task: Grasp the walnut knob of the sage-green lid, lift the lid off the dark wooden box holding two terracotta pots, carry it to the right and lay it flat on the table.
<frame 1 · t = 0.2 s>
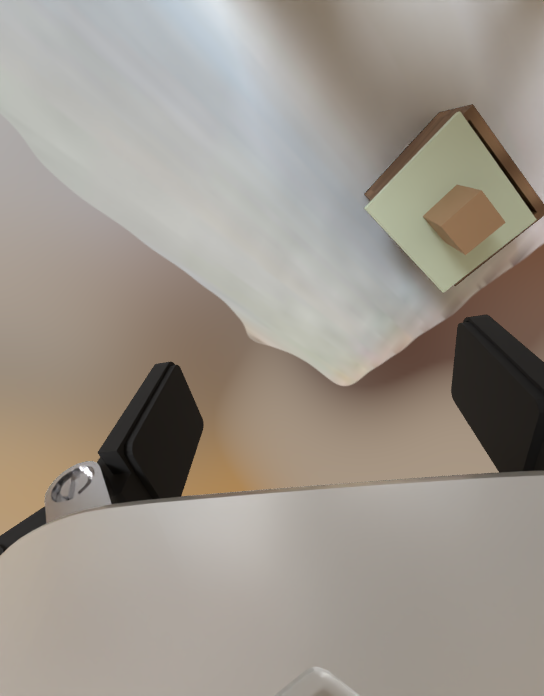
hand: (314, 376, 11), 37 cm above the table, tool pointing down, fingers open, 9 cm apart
box: (434, 197, 41), on the table
lid: (447, 213, 34), point 8 cm above the table, touching box
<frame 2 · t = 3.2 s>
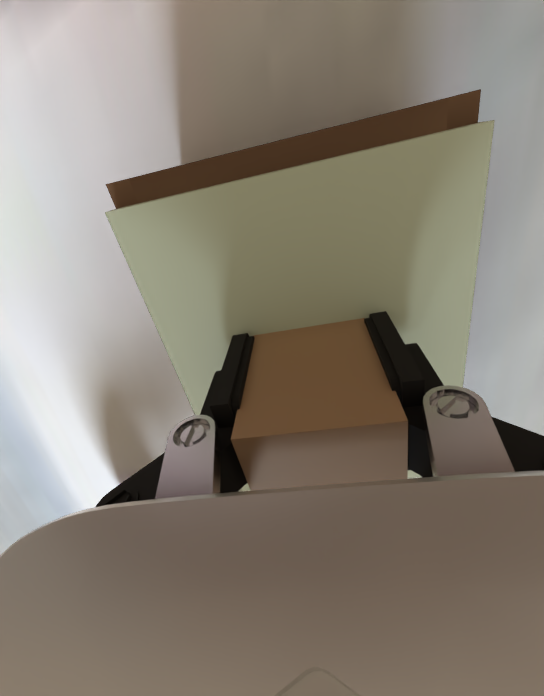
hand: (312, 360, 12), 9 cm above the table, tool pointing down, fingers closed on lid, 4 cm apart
box: (305, 277, 20), on the table
lid: (314, 360, 13), point 8 cm above the table, touching box, gripper
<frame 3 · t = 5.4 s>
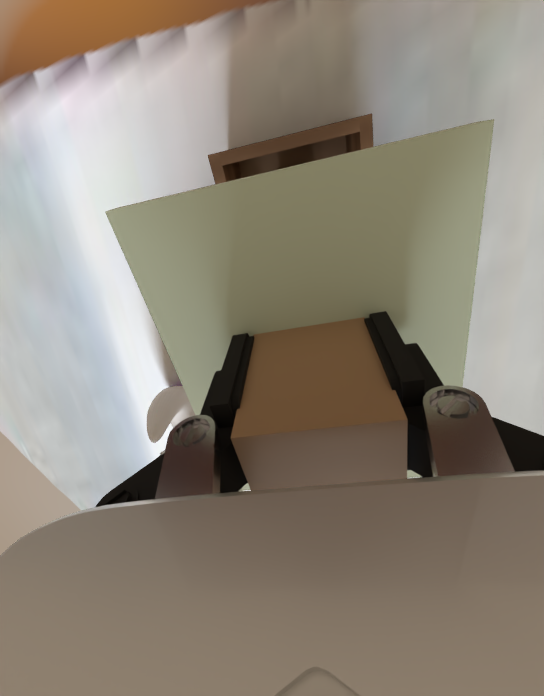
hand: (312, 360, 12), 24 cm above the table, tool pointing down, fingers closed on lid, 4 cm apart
box: (301, 220, 31), on the table
toy: (196, 394, 45), on the table
lid: (314, 359, 13), point 22 cm above the table, touching gripper
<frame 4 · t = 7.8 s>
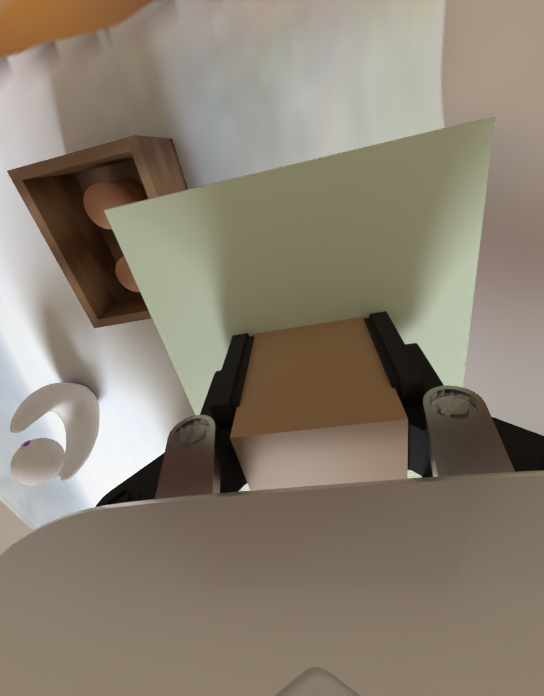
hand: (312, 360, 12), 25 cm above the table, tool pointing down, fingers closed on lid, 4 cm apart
box: (148, 228, 34), on the table
toy: (91, 391, 47), on the table
lid: (314, 359, 13), point 24 cm above the table, touching gripper
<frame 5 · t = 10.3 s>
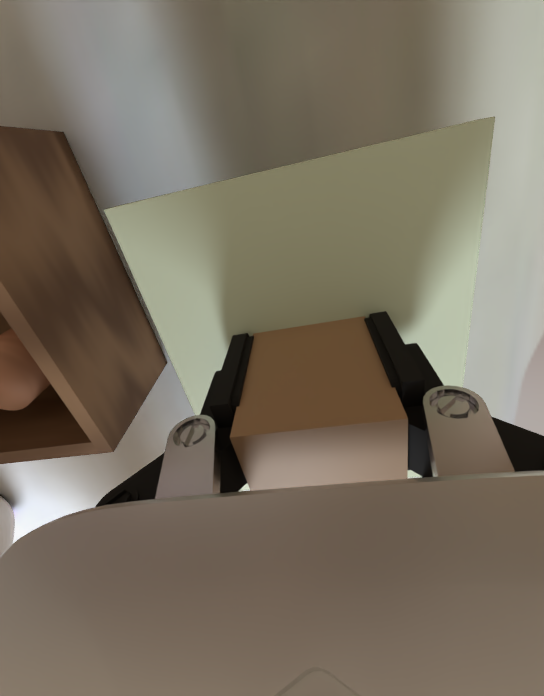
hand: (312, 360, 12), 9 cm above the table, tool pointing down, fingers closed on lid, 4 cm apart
box: (45, 284, 20), on the table
toy: (3, 496, 33), on the table
lid: (314, 358, 13), point 8 cm above the table, touching gripper
when the fingers open (3 cm above the table, at t = 12.4 s): lid drops 2 cm, on the table.
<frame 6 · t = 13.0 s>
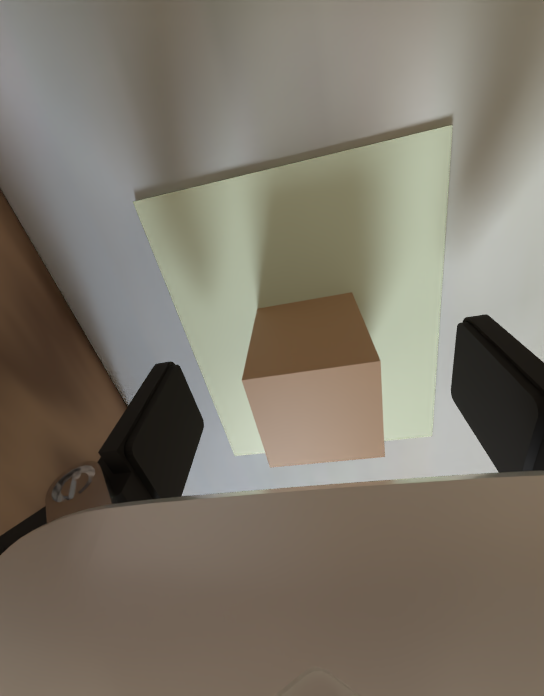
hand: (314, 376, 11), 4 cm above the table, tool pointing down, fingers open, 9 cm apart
lid: (309, 332, 15), on the table
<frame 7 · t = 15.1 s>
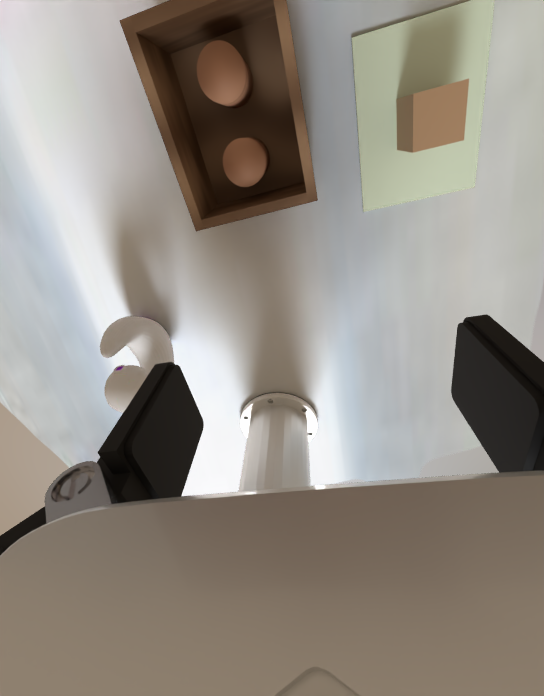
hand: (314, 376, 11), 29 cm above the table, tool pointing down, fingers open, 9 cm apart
box: (243, 123, 31), on the table
toy: (162, 330, 45), on the table
lid: (416, 119, 30), on the table
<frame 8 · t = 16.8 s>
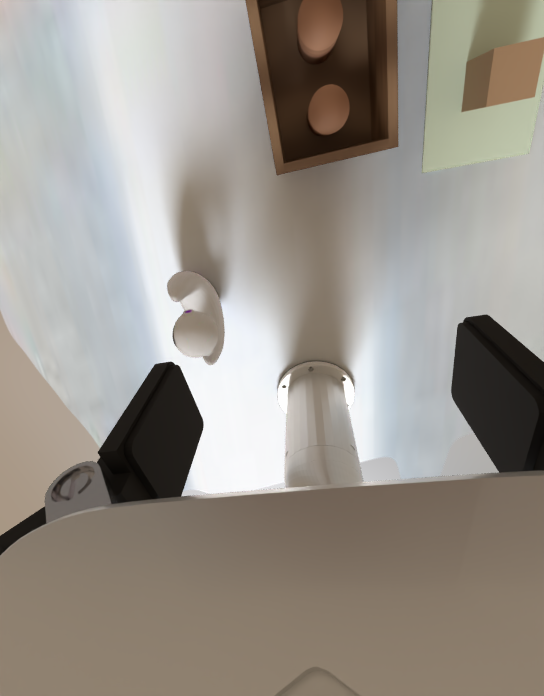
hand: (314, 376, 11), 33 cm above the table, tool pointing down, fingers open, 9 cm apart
box: (319, 81, 33), on the table
toy: (211, 292, 46), on the table
lid: (481, 84, 32), on the table
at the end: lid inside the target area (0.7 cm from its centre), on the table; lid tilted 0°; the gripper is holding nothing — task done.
